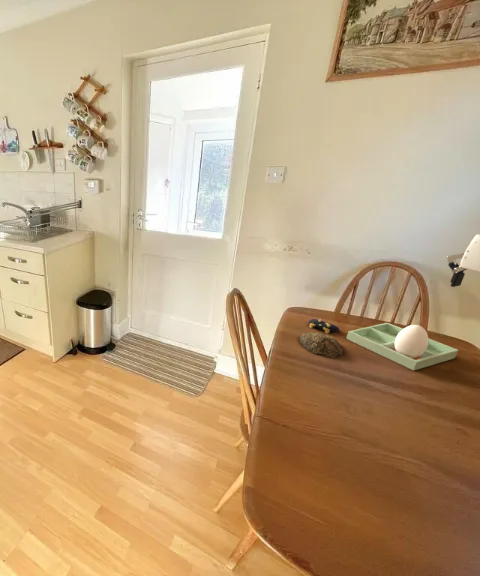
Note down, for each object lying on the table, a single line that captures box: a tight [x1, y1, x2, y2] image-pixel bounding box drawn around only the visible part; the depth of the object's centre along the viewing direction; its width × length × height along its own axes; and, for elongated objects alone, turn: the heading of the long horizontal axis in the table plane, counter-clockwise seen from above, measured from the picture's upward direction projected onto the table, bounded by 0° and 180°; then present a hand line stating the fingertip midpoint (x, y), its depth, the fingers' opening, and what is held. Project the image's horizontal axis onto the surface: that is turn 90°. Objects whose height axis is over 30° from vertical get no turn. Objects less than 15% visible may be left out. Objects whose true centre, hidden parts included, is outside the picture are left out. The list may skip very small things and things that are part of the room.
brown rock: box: [299, 332, 343, 358], centre depth 109 cm, size 13×12×5 cm
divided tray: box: [345, 322, 459, 371], centre depth 108 cm, size 20×20×4 cm
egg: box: [395, 324, 429, 358], centre depth 100 cm, size 7×7×12 cm
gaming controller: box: [308, 318, 340, 334], centre depth 122 cm, size 10×5×6 cm
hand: (477, 291), depth 88 cm, fingers open, 9 cm apart
